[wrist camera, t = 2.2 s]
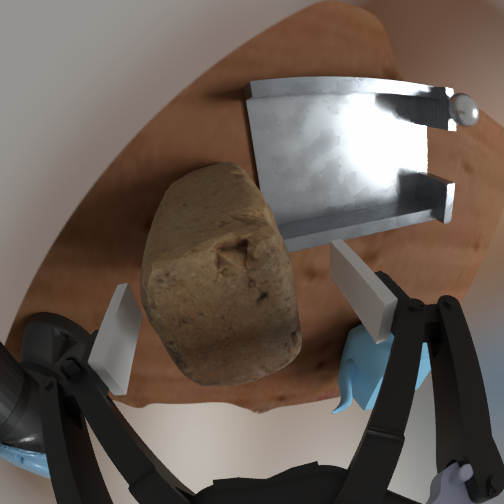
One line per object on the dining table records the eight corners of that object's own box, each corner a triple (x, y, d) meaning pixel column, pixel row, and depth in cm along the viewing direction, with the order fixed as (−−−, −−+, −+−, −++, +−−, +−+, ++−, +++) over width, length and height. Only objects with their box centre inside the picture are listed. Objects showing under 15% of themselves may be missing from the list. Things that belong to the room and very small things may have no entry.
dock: (266, 237, 32) (291, 285, 23) (243, 87, 24) (263, 69, 15) (428, 205, 34) (476, 232, 25) (427, 89, 26) (483, 92, 17)
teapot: (393, 283, 39) (443, 337, 27) (417, 327, 46) (453, 372, 34) (305, 353, 43) (333, 419, 31) (347, 381, 50) (372, 432, 38)
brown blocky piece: (169, 171, 27) (108, 270, 9) (240, 153, 27) (309, 220, 9) (196, 260, 32) (197, 417, 14) (258, 245, 32) (318, 389, 15)
